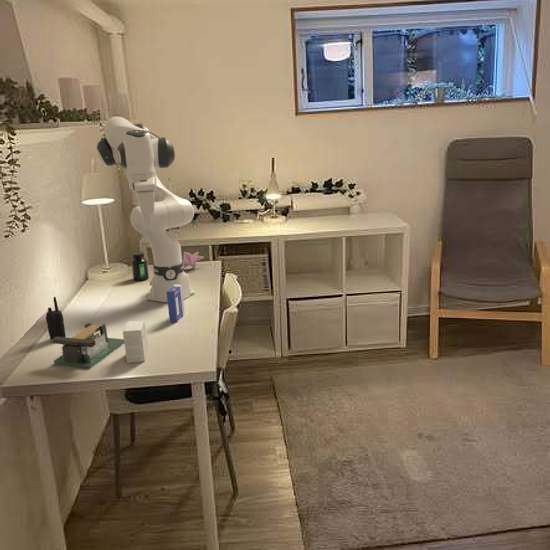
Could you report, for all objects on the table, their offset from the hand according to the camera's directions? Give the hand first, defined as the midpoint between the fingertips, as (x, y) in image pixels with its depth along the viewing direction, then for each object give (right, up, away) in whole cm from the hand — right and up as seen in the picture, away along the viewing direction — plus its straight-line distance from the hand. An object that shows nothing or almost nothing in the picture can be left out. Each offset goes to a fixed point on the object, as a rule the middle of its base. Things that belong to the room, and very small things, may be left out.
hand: (147, 224), depth 186 cm
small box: (-1, -42, -10) cm, 44 cm away
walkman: (+6, -33, +19) cm, 39 cm away
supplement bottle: (-18, -19, +68) cm, 72 cm away
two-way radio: (-32, -39, +6) cm, 51 cm away
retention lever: (-16, -34, -5) cm, 37 cm away
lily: (+3, -15, +78) cm, 79 cm away
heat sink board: (-17, -42, -6) cm, 45 cm away
